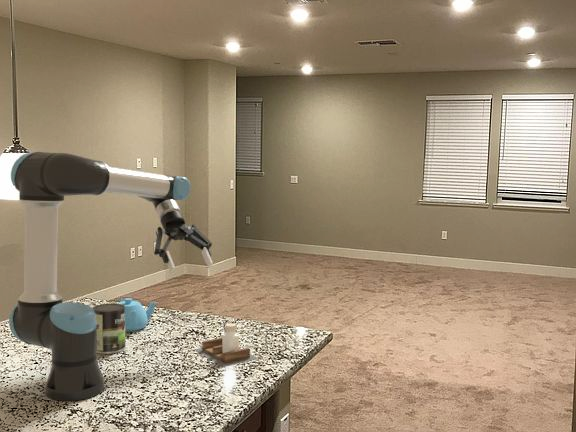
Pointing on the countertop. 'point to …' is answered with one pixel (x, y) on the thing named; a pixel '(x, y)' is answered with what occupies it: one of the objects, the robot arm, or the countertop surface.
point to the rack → (215, 350)
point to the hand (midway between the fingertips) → (192, 267)
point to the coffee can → (110, 328)
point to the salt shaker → (230, 339)
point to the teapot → (136, 314)
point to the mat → (223, 362)
